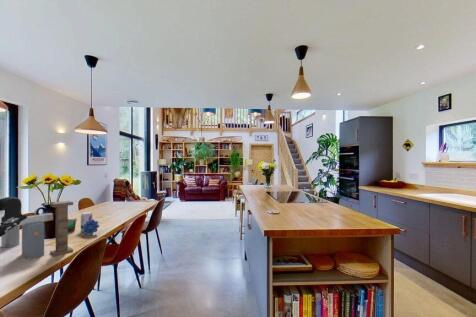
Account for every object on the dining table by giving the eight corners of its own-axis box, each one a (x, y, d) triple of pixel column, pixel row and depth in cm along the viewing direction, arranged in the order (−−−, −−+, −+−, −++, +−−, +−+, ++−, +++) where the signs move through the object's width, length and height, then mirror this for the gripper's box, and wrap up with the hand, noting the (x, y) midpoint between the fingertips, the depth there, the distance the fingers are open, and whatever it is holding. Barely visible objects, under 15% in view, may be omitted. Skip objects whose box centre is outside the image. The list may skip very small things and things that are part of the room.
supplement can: (94, 229, 207) (94, 211, 208) (88, 232, 199) (88, 214, 199) (84, 229, 207) (84, 212, 207) (78, 232, 199) (78, 214, 199)
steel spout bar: (10, 225, 146) (10, 219, 146) (50, 219, 162) (50, 213, 162) (12, 226, 143) (12, 219, 143) (52, 220, 160) (53, 213, 160)
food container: (56, 233, 198) (56, 220, 198) (60, 231, 204) (60, 219, 204) (74, 232, 201) (74, 219, 201) (76, 229, 207) (76, 218, 207)
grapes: (100, 232, 199) (100, 217, 199) (98, 235, 193) (98, 219, 193) (83, 234, 195) (83, 219, 195) (81, 236, 189) (81, 221, 189)
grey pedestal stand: (50, 253, 155) (50, 202, 155) (68, 248, 163) (68, 200, 163) (54, 256, 150) (54, 204, 150) (73, 251, 158) (73, 201, 158)
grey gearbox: (21, 254, 153) (22, 222, 153) (37, 250, 160) (38, 220, 160) (28, 259, 146) (28, 225, 146) (44, 255, 152) (44, 222, 152)
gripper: (-7, 236, 144) (24, 218, 155) (-1, 241, 135) (31, 221, 147) (-16, 227, 141) (16, 208, 152) (-11, 231, 132) (23, 211, 144)
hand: (24, 215), depth 149 cm, fingers open, 8 cm apart
